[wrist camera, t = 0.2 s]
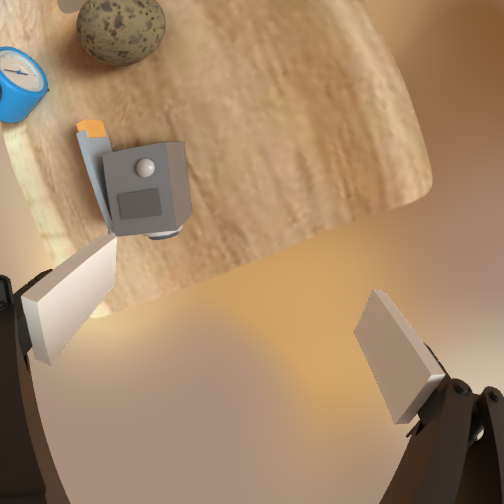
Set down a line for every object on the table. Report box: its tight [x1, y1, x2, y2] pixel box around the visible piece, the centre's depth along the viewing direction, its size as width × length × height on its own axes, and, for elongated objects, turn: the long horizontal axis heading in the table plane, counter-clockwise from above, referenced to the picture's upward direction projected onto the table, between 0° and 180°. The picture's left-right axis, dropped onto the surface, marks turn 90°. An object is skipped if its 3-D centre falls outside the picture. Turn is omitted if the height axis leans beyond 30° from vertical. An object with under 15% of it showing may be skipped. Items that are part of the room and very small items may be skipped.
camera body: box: [102, 142, 193, 240], centre depth 35 cm, size 11×8×10 cm
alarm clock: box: [0, 47, 49, 123], centre depth 26 cm, size 13×6×15 cm, turn 33°
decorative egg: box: [77, 0, 166, 66], centre depth 25 cm, size 11×11×15 cm
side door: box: [77, 120, 119, 237], centre depth 35 cm, size 16×1×7 cm, turn 17°
